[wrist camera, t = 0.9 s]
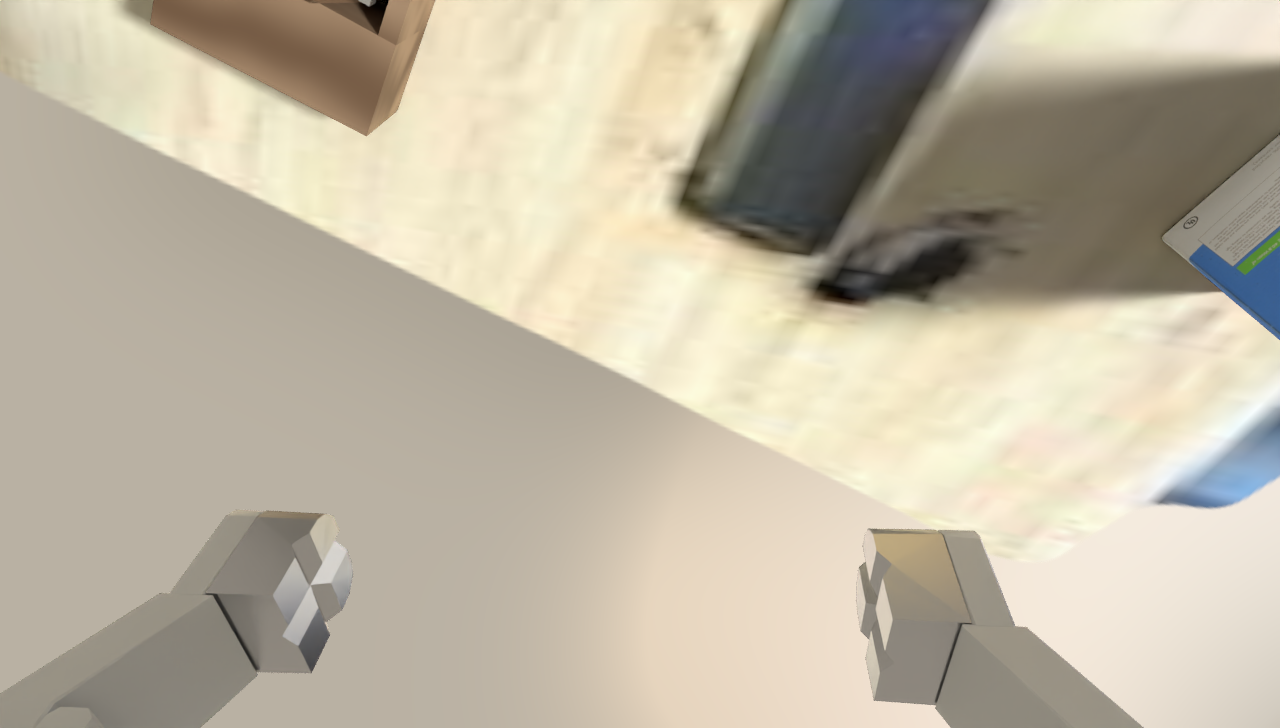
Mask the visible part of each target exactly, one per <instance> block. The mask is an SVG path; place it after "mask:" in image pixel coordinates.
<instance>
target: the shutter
mask: <svg viewBox="0 0 1280 728" xmlns="http://www.w3.org/2000/svg"><path fill="white" fill-rule="evenodd" d="M358 1H360V2H362V3H364V4H366V5H367V6H371V5H373V4H375V2H376V0H358Z"/></svg>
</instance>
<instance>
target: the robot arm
mask: <svg viewBox="0 0 1280 728" xmlns="http://www.w3.org/2000/svg"><path fill="white" fill-rule="evenodd" d="M339 531H340V530H339V527H338V525H337V523H336V521H335V519H334V516H332V515H328V514H318V513H300V512H282V511H255V510H254V511H253V510H235V511H233V512H231V513H230V514H228V515H226V516H225V518H224V519H223V521H222V522H221V523H220V524H219V526H218V527H217V529H216V530H215V531H214V533H213V534H212V535H211V537H210V538H209V540H208V541H207V542H206V544H205V545H204V547H203V548H202V549H201V551H200V552H199V553H198V555H197V556H196V558H195V559H194V560H193V562H192V563H191V564H190V566H189V567H188V569H187V570H186V571H185V573H184V574H183V576H182V577H181V578H180V580H179V581H178V582H177V584H176V585H175V586H174V588H173V589H172V591H171V592H170V593H159V594H158V595H156V596H155V597H153V598H151V599H150V600H148V601H147V602H145V603H144V604H142V605H140V606H139V607H137V608H136V609H134V610H132V611H131V612H129V613H128V614H126V615H125V616H123V617H121V618H120V619H118V620H116V621H115V622H113V623H112V624H110V625H109V626H107V627H105V628H104V629H102V630H101V631H99V632H98V633H96V634H94V635H93V636H91V637H89V638H88V639H86V640H85V641H83V642H82V643H80V644H78V645H77V646H75V647H73V648H72V649H70V650H69V651H67V652H66V653H64V654H62V655H61V656H59V657H58V658H56V659H54V660H53V661H51V662H50V663H48V664H46V665H45V666H43V667H42V668H40V669H39V670H37V671H36V672H34V673H32V674H31V675H29V676H27V677H26V678H24V679H23V680H21V681H19V682H18V683H16V684H15V685H13V686H11V687H10V688H8V689H7V690H5V691H3V692H2V693H0V728H201V727H202V726H203V725H204V724H205V723H206V722H207V721H208V720H209V719H210V718H212V717H213V716H214V715H215V714H216V713H217V712H218V711H219V710H220V709H221V708H222V707H224V706H225V705H226V704H227V703H228V702H229V701H230V700H231V699H232V698H233V697H235V696H236V695H237V694H238V693H239V692H240V691H241V690H242V689H243V688H244V687H245V686H246V685H248V684H249V683H250V682H251V681H252V680H253V679H254V678H255V677H257V675H258V674H257V672H277V673H278V672H279V673H312V671H313V669H314V667H315V665H316V663H317V661H318V659H319V657H320V655H321V653H322V650H323V648H324V646H325V644H326V642H327V640H328V638H329V636H330V632H329V629H328V626H327V621H328V620H330V619H331V618H332V617H333V616H335V615H336V614H337V613H339V612H340V611H341V610H342V609H343V607H344V605H345V602H346V600H347V598H348V596H349V594H350V587H351V583H352V577H353V570H352V561H351V558H350V555H349V553H348V550H347V549H345V548H344V547H343V546H342V545H340V544H339V543H338V542H336V541H335V539H336V537H337V535H338V533H339ZM863 550H864V555H865V560H866V562H865V563H863V564H862V565H861V566H860V567H859V570H858V577H857V592H856V593H857V594H856V596H857V597H856V602H857V612H858V619H859V625H860V630H861V632H862V633H863V634H864V635H865V636H866V637H867V638H868V639H869V644H868V649H867V654H866V663H867V668H868V673H869V678H870V683H871V688H872V693H873V698H874V701H875V700H876V701H887V702H901V703H914V704H927V705H936V710H937V711H938V712H939V713H940V715H941V716H942V717H943V718H944V720H945V721H946V722H947V723H948V725H949V726H950V727H951V728H1143V727H1142V726H1141V725H1140V724H1139V723H1138V722H1136V721H1135V720H1134V719H1133V718H1132V717H1131V716H1129V715H1128V714H1127V713H1126V712H1125V711H1124V710H1123V709H1121V708H1120V707H1119V706H1118V705H1117V704H1116V703H1114V702H1113V701H1112V700H1111V699H1110V698H1108V697H1107V696H1106V695H1105V694H1104V693H1103V692H1102V691H1100V690H1099V689H1098V688H1097V687H1096V686H1095V685H1093V684H1092V683H1091V682H1090V681H1089V680H1087V679H1086V678H1085V677H1084V676H1083V675H1082V674H1081V673H1079V672H1078V671H1077V670H1076V669H1075V668H1074V667H1072V666H1071V665H1070V664H1069V663H1068V662H1067V661H1065V660H1064V659H1063V658H1062V657H1061V656H1060V655H1058V654H1057V653H1056V652H1055V651H1054V650H1053V649H1051V648H1050V647H1049V646H1048V645H1047V644H1046V643H1044V642H1043V641H1042V640H1041V639H1039V637H1037V636H1036V635H1035V634H1034V633H1033V632H1032V631H1030V630H1029V629H1028V628H1027V627H1018V626H1015V624H1014V622H1013V619H1012V616H1011V614H1010V611H1009V609H1008V606H1007V604H1006V601H1005V599H1004V596H1003V593H1002V591H1001V588H1000V586H999V583H998V581H997V578H996V576H995V573H994V571H993V568H992V565H991V563H990V560H989V558H988V555H987V553H986V550H985V547H984V545H983V542H982V540H981V537H980V536H979V535H978V534H977V533H976V532H975V531H958V530H938V531H937V530H921V529H868V530H867V532H866V534H865V537H864V543H863Z"/></svg>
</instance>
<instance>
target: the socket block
mask: <svg viewBox="0 0 1280 728" xmlns="http://www.w3.org/2000/svg"><path fill="white" fill-rule="evenodd" d="M434 2H435V0H389V1H388V5H386V4H384V3H382V2H380V1H378V0H376V2H375V4H373V5H371V6H367V5H366V4H364V3H362V2H360V1H358V0H154V1H153V8H152V15H151V22H150V24H151V25H153V26H155V27H157V28H159V29H161V30H163V31H164V32H166V33H168V34H170V35H172V36H174V37H176V38H178V39H180V40H182V41H184V42H186V43H188V44H190V45H191V46H193V47H195V48H197V49H199V50H201V51H203V52H205V53H207V54H209V55H211V56H213V57H215V58H217V59H218V60H220V61H222V62H224V63H226V64H228V65H230V66H232V67H234V68H236V69H238V70H240V71H242V72H244V73H245V74H247V75H249V76H251V77H253V78H255V79H257V80H259V81H261V82H263V83H265V84H267V85H269V86H271V87H273V88H274V89H276V90H278V91H280V92H282V93H284V94H286V95H288V96H290V97H292V98H294V99H296V100H298V101H300V102H301V103H303V104H305V105H307V106H309V107H311V108H313V109H315V110H317V111H319V112H321V113H323V114H325V115H327V116H328V117H330V118H332V119H334V120H336V121H338V122H340V123H342V124H344V125H346V126H348V127H350V128H352V129H354V130H355V131H357V132H359V133H361V134H363V135H365V136H367V135H369V134H370V133H371V132H372V131H373V130H375V129H376V128H377V127H378V126H380V125H381V124H382V123H383V122H384V121H386V120H387V119H388V118H389V117H390V116H392V115H393V114H394V113H395V112H396V111H397V110H398V107H399V104H400V101H401V98H402V95H403V92H404V89H405V86H406V84H407V81H408V78H409V75H410V72H411V69H412V66H413V63H414V60H415V57H416V54H417V51H418V49H419V46H420V43H421V40H422V37H423V34H424V31H425V28H426V25H427V22H428V19H429V17H430V14H431V11H432V8H433V5H434Z"/></svg>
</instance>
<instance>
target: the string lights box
mask: <svg viewBox="0 0 1280 728" xmlns="http://www.w3.org/2000/svg"><path fill="white" fill-rule="evenodd" d="M1162 240H1163V242H1165V243H1166V244H1167V245H1169V246H1170V247H1171V248H1172V249H1173V250H1175V251H1176V252H1177V253H1178V254H1179V255H1181V256H1182V257H1183V258H1184V259H1185V260H1186V261H1188V262H1189V263H1190V264H1191V265H1192V266H1193V267H1195V268H1196V269H1197V270H1198V271H1199V272H1200V273H1202V274H1203V275H1204V276H1205V277H1206V278H1207V279H1209V280H1210V281H1211V282H1212V283H1213V284H1214V285H1215V286H1217V287H1218V288H1219V289H1220V290H1221V291H1222V292H1224V293H1225V294H1226V295H1227V296H1228V297H1229V298H1231V299H1232V300H1233V301H1234V302H1235V303H1236V304H1238V305H1239V306H1240V307H1241V308H1242V309H1244V310H1245V311H1246V312H1247V313H1248V314H1250V315H1251V316H1252V317H1253V318H1254V319H1255V320H1257V321H1258V322H1259V323H1260V324H1261V325H1263V326H1264V327H1265V328H1266V329H1267V330H1268V331H1270V332H1271V333H1272V334H1273V335H1274V336H1276V337H1277V338H1278V339H1279V340H1280V135H1278V136H1277V137H1276V138H1275V139H1274V140H1273V141H1272V142H1270V143H1269V144H1268V145H1267V146H1266V147H1265V148H1264V149H1262V150H1261V151H1260V152H1259V153H1258V154H1257V155H1255V156H1254V157H1253V158H1252V159H1251V160H1250V161H1249V162H1247V163H1246V164H1245V165H1244V166H1243V167H1242V168H1240V169H1239V170H1238V171H1237V172H1236V173H1235V174H1233V175H1232V176H1231V177H1230V178H1229V179H1228V180H1226V181H1225V182H1224V183H1223V184H1222V185H1221V186H1219V187H1218V188H1217V189H1216V190H1215V191H1214V192H1213V193H1211V194H1210V195H1209V196H1208V197H1207V198H1206V199H1204V200H1203V201H1202V202H1201V203H1200V204H1199V205H1198V206H1196V207H1195V208H1194V209H1193V210H1192V211H1191V212H1190V213H1188V214H1187V215H1186V216H1185V217H1184V218H1183V219H1181V220H1180V221H1179V222H1178V223H1177V224H1176V225H1174V226H1173V227H1172V228H1171V229H1170V230H1169V231H1168V232H1166V233H1165V234H1164V235H1163V237H1162Z"/></svg>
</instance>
